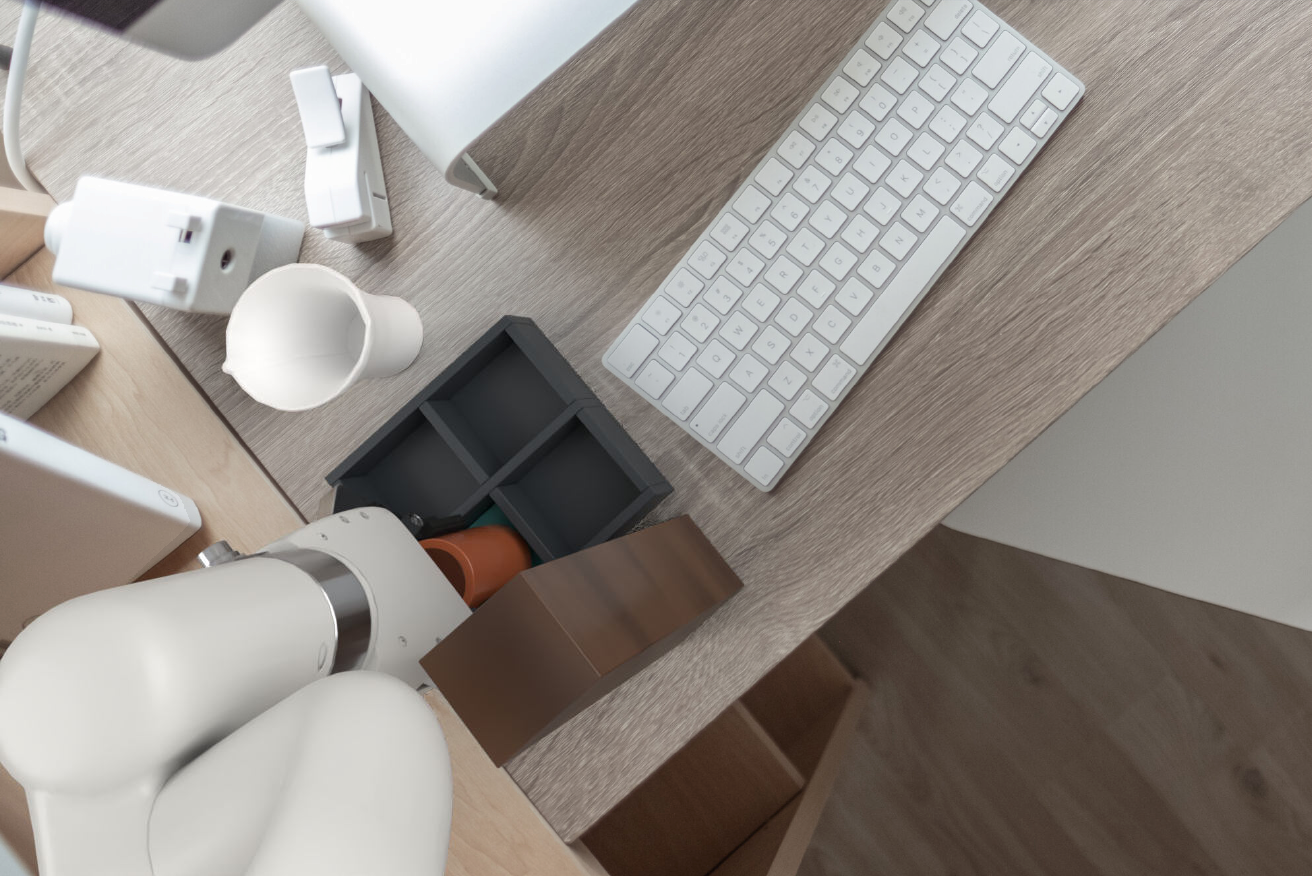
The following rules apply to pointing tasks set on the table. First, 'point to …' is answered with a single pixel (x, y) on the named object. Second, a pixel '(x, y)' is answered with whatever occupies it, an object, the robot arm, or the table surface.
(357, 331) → the cup
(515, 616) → the brown wooden block
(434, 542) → the tumbler
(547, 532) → the divided tray
